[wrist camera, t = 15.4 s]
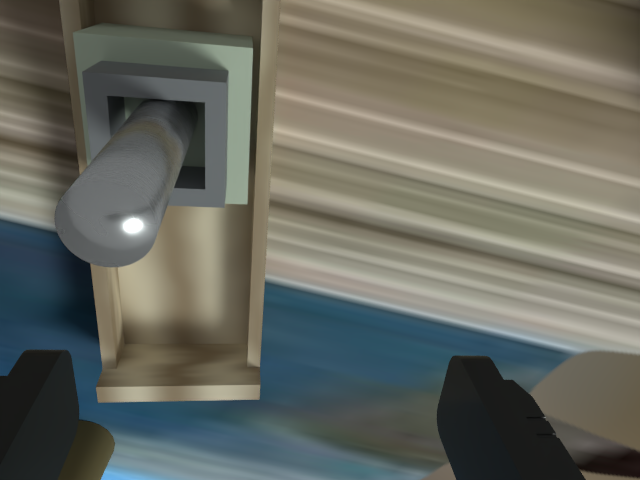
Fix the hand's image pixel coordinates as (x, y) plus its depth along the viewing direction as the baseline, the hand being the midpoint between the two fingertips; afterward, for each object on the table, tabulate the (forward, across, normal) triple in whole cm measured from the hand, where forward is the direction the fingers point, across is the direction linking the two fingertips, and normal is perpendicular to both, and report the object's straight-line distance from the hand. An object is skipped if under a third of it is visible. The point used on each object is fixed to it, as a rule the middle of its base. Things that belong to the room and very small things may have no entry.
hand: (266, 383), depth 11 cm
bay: (+28, +6, +7) cm, 29 cm away
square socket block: (+26, +6, 0) cm, 27 cm away
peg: (+20, +5, -1) cm, 21 cm away
